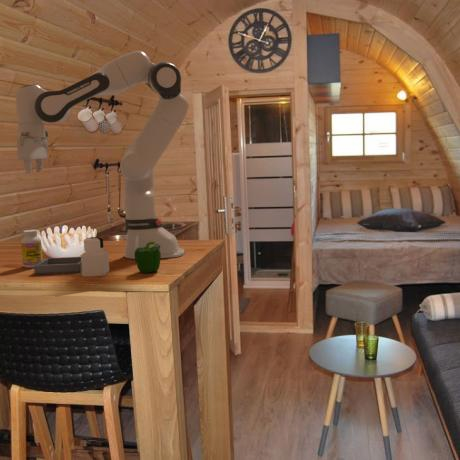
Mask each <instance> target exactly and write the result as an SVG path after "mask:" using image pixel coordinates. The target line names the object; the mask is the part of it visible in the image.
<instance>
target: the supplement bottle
mask: <svg viewBox="0 0 460 460" xmlns="http://www.w3.org/2000/svg"><path fill="white" fill-rule="evenodd" d="M22 233H23V236H24V237H22V238H21V241H20V242H21V243H20V244H21V255H22V266H23V267H24V268H27V269H31V268H32V269H34V265H36V264H38V263H39V262H41V261H43V260H44V258H43V249H42V239H41V237H39V236H38V230H37V229H26V230H23V232H22Z"/></svg>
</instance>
